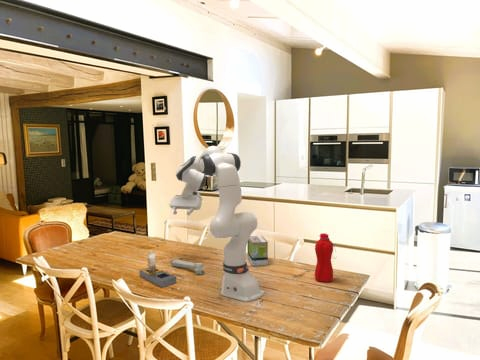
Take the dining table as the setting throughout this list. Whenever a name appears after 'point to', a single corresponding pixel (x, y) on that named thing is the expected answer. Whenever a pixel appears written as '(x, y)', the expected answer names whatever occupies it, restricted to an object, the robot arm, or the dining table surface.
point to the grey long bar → (189, 266)
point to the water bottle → (324, 259)
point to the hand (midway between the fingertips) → (181, 214)
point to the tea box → (258, 250)
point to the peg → (151, 262)
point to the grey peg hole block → (158, 277)
